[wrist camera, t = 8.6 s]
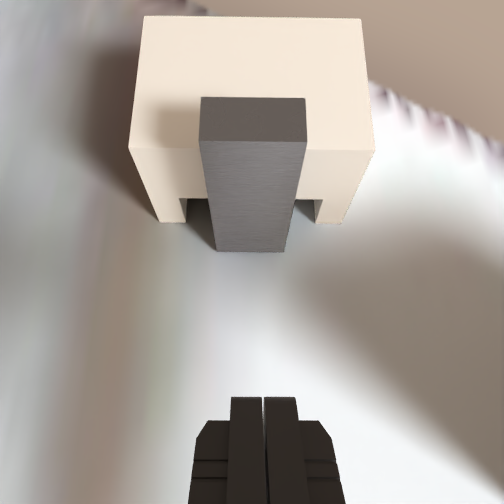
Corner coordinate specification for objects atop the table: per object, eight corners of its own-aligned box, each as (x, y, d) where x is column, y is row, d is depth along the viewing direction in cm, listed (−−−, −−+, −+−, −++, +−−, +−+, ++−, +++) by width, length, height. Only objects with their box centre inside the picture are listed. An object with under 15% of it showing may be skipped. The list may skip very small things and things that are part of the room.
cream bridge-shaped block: (340, 223, 35) (375, 150, 26) (159, 222, 35) (128, 147, 26) (332, 111, 39) (360, 11, 30) (169, 109, 39) (145, 8, 29)
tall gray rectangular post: (303, 252, 34) (340, 142, 21) (196, 251, 34) (165, 140, 21) (297, 90, 39) (323, -77, 26) (205, 89, 39) (184, -79, 26)
